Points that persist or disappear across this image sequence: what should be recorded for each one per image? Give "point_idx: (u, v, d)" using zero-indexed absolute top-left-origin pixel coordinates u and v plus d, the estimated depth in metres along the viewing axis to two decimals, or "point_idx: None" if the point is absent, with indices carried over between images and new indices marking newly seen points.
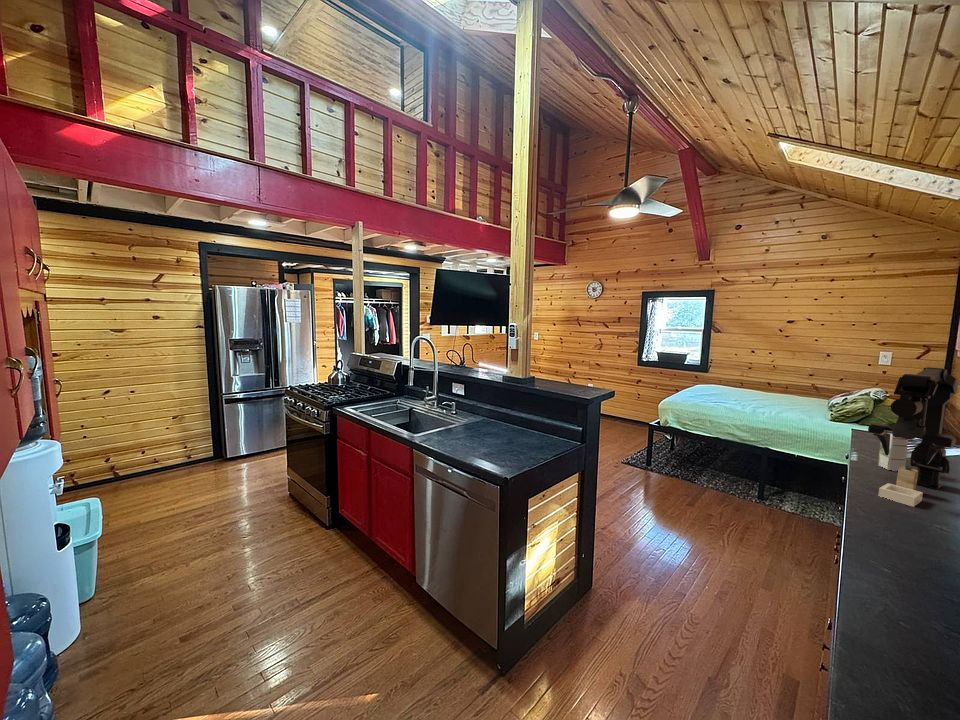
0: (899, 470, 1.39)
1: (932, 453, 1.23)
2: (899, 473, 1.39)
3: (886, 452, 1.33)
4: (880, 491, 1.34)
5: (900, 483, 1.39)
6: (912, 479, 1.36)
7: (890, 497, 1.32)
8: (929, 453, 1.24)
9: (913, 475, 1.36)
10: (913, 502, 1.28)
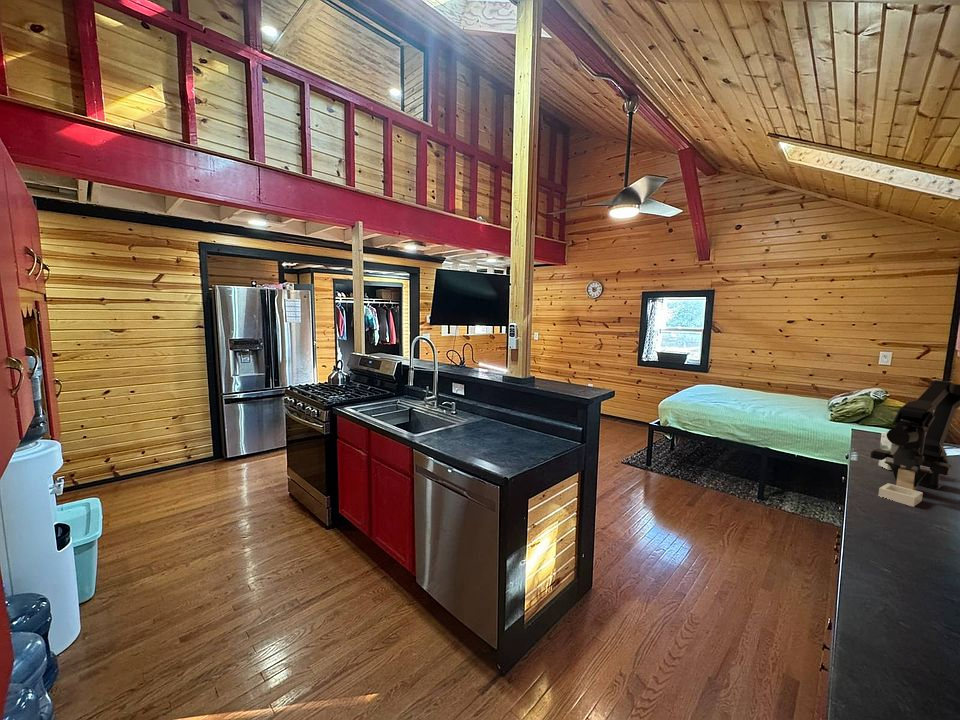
0: (899, 470, 1.39)
1: (920, 477, 1.35)
2: (899, 473, 1.39)
3: None
4: (880, 491, 1.34)
5: (900, 483, 1.39)
6: (912, 479, 1.36)
7: (890, 497, 1.32)
8: (917, 477, 1.36)
9: (913, 475, 1.36)
10: (913, 502, 1.28)
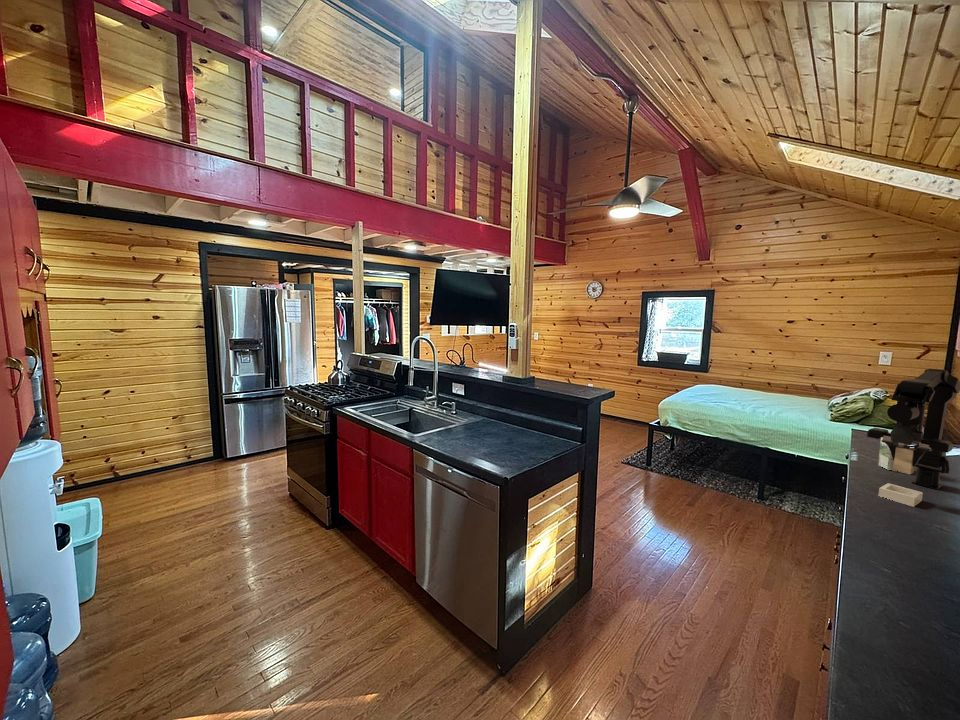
0: (897, 449, 1.32)
1: (918, 455, 1.28)
2: (897, 452, 1.32)
3: None
4: (880, 491, 1.34)
5: (898, 463, 1.32)
6: (910, 458, 1.29)
7: (890, 497, 1.32)
8: (915, 455, 1.29)
9: (911, 453, 1.29)
10: (913, 502, 1.28)
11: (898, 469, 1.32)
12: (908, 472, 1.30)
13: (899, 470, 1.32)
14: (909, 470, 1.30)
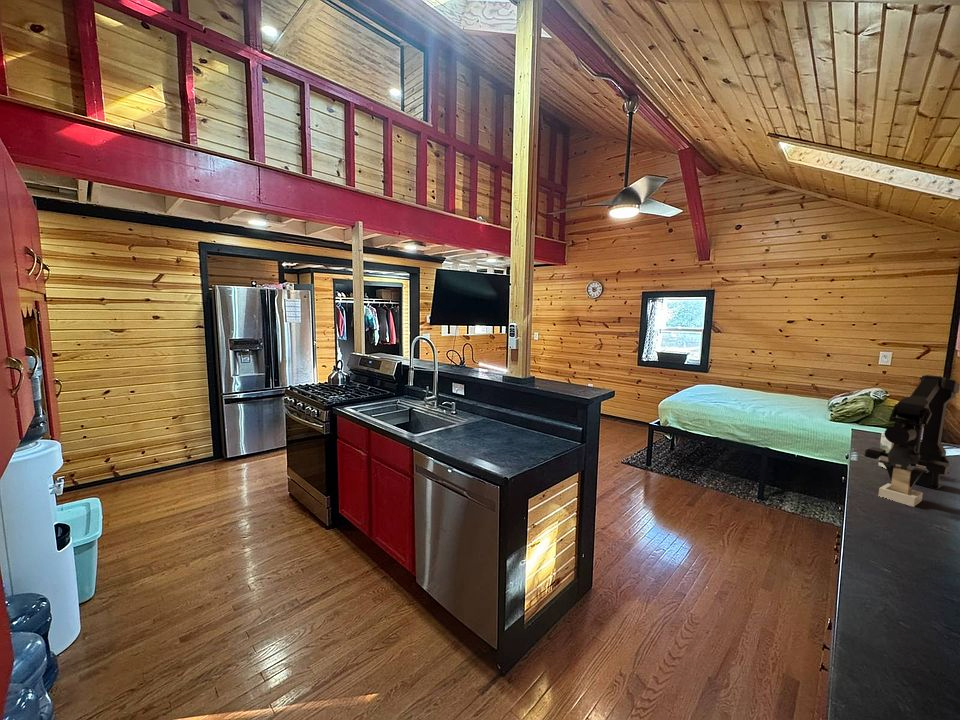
0: (894, 469, 1.33)
1: (915, 476, 1.29)
2: (894, 472, 1.33)
3: None
4: (880, 491, 1.34)
5: (895, 483, 1.33)
6: (908, 479, 1.30)
7: (890, 497, 1.32)
8: (913, 476, 1.30)
9: (909, 474, 1.30)
10: (913, 502, 1.28)
11: (895, 489, 1.33)
12: (905, 493, 1.31)
13: (896, 490, 1.32)
14: (906, 491, 1.30)
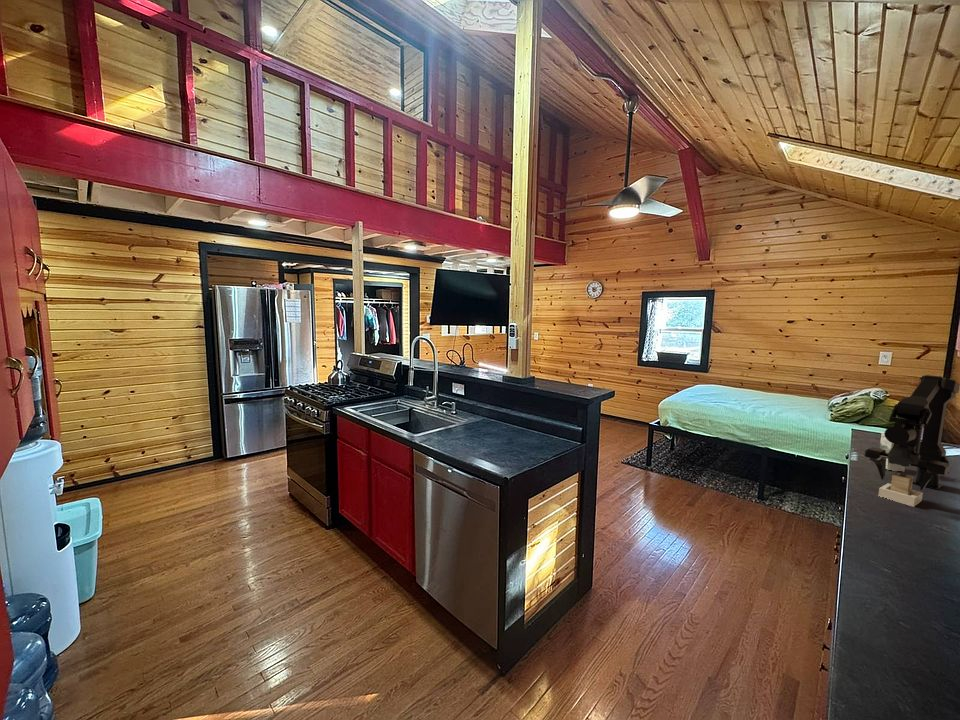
0: (893, 476, 1.33)
1: (926, 479, 1.27)
2: (893, 480, 1.33)
3: (882, 477, 1.36)
4: (880, 491, 1.34)
5: (894, 490, 1.33)
6: (906, 486, 1.30)
7: (890, 497, 1.32)
8: (923, 479, 1.27)
9: (908, 482, 1.30)
10: (913, 502, 1.28)
11: None
12: None
13: None
14: None
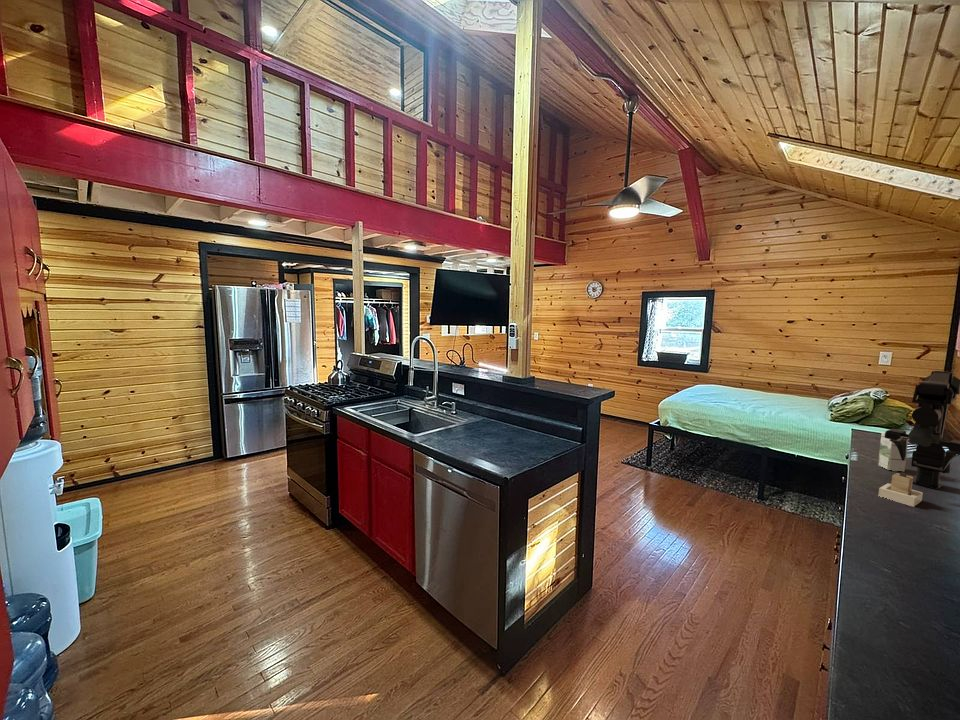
0: (893, 476, 1.33)
1: (948, 459, 1.27)
2: (893, 480, 1.33)
3: (902, 457, 1.36)
4: (880, 491, 1.34)
5: (894, 490, 1.33)
6: (906, 486, 1.30)
7: (890, 497, 1.32)
8: (945, 459, 1.27)
9: (908, 482, 1.30)
10: (913, 502, 1.28)
11: None
12: None
13: None
14: None
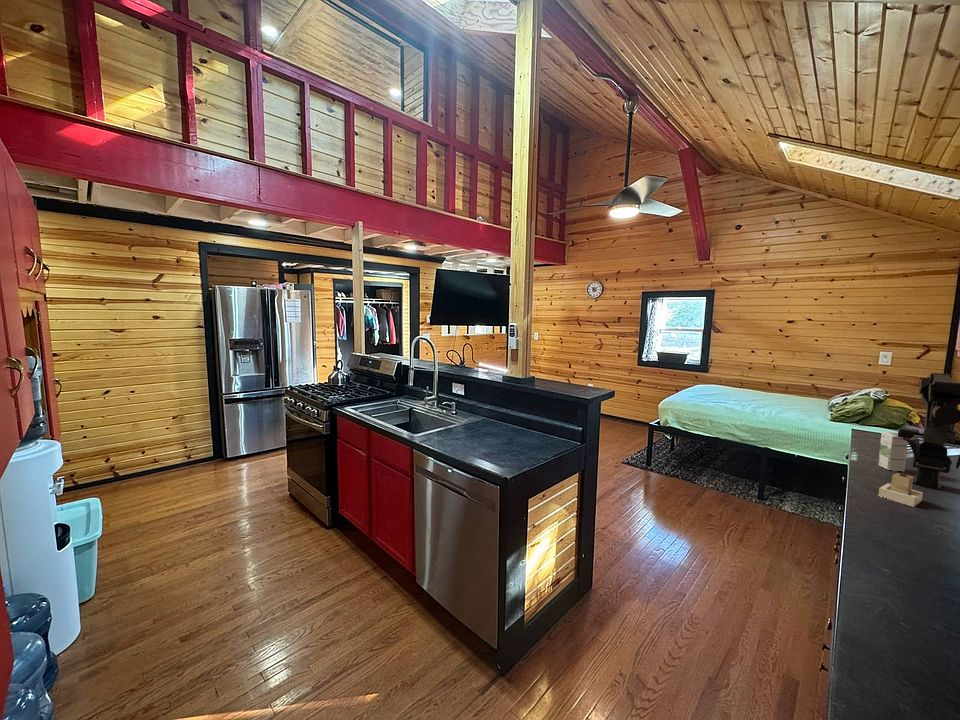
0: (893, 476, 1.33)
1: None
2: (893, 480, 1.33)
3: (916, 456, 1.37)
4: (880, 491, 1.34)
5: (894, 490, 1.33)
6: (907, 486, 1.30)
7: (890, 497, 1.32)
8: (959, 458, 1.28)
9: (908, 482, 1.30)
10: (913, 502, 1.28)
11: None
12: None
13: None
14: None
